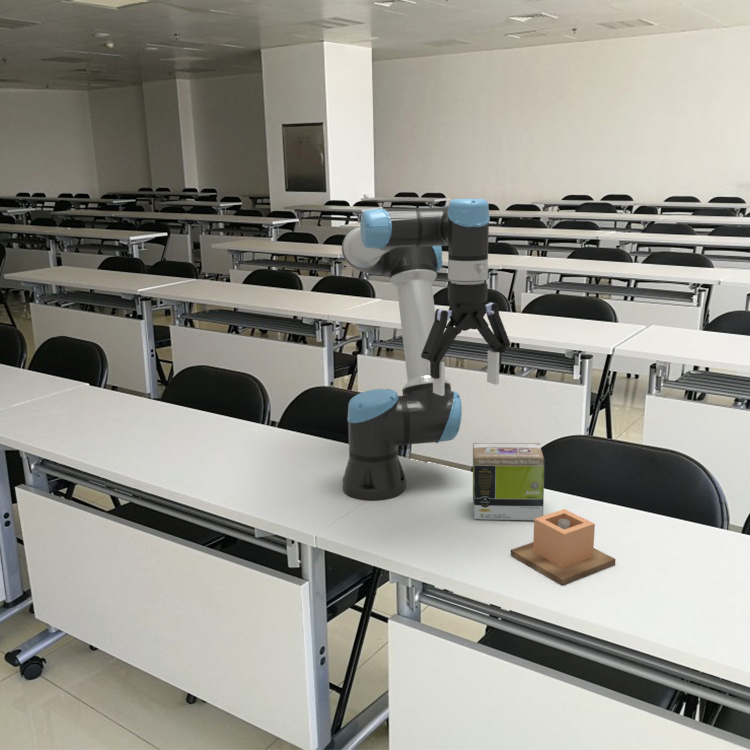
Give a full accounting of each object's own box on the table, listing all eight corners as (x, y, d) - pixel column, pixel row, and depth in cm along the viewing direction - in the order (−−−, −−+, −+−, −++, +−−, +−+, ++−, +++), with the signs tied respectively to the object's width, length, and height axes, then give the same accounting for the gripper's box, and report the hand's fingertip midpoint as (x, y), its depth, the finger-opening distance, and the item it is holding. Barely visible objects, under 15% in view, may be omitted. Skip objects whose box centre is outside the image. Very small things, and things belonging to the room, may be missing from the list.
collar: (533, 551, 156) (534, 518, 154) (562, 541, 160) (564, 509, 158) (562, 568, 149) (564, 534, 147) (592, 557, 153) (594, 523, 151)
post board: (510, 555, 157) (511, 517, 155) (562, 537, 164) (563, 500, 162) (562, 585, 145) (564, 544, 143) (615, 564, 153) (617, 525, 151)
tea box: (538, 503, 181) (541, 441, 177) (543, 522, 171) (545, 457, 167) (471, 501, 182) (472, 440, 179) (472, 520, 173) (473, 456, 169)
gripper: (426, 289, 143) (426, 403, 148) (530, 277, 156) (526, 382, 161) (402, 285, 149) (403, 394, 154) (504, 273, 162) (501, 374, 167)
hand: (466, 388), depth 158 cm, fingers open, 13 cm apart
